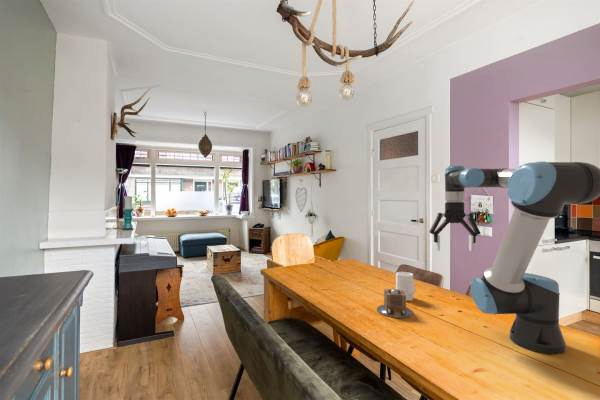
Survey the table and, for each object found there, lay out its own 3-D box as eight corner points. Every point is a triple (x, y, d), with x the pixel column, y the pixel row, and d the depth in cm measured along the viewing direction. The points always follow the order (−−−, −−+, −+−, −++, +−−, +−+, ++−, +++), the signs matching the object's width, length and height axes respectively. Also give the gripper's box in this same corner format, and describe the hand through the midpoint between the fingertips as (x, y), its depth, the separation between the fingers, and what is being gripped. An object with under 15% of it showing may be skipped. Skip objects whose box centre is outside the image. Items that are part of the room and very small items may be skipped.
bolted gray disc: (375, 304, 144) (375, 284, 143) (408, 305, 141) (408, 285, 141) (378, 316, 129) (378, 294, 129) (416, 318, 127) (416, 296, 126)
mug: (421, 301, 147) (421, 276, 147) (406, 303, 144) (406, 278, 144) (406, 294, 158) (406, 271, 158) (391, 295, 156) (391, 272, 155)
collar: (384, 306, 140) (384, 289, 139) (402, 307, 138) (402, 289, 138) (387, 316, 128) (387, 297, 128) (407, 317, 127) (407, 298, 126)
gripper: (481, 201, 136) (481, 249, 136) (422, 201, 139) (422, 248, 140) (489, 201, 128) (489, 252, 129) (426, 201, 132) (426, 251, 132)
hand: (454, 250), depth 134 cm, fingers open, 13 cm apart
